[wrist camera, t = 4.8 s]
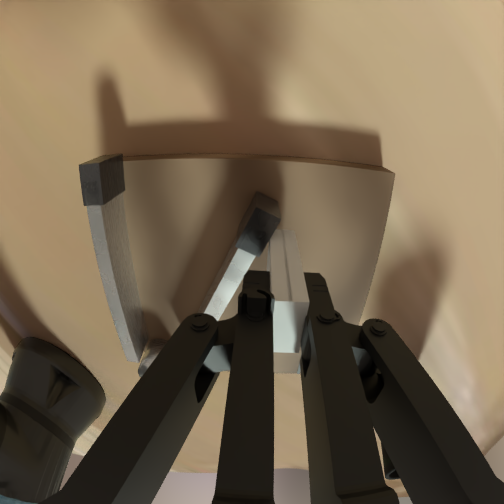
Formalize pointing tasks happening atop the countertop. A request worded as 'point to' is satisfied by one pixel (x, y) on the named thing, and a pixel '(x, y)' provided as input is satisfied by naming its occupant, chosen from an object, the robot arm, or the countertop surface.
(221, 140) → the countertop surface
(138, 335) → the tongs fixed
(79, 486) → the robot arm
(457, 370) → the countertop surface
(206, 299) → the tong arm
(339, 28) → the countertop surface
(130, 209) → the board
